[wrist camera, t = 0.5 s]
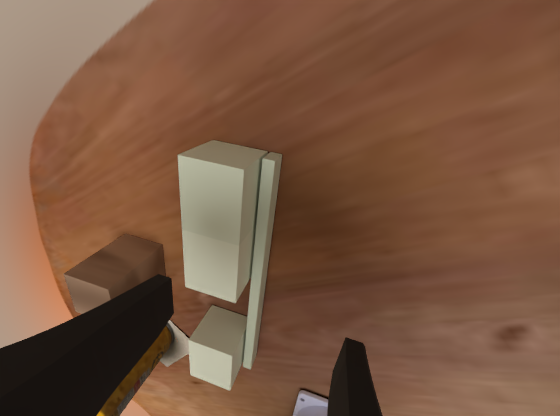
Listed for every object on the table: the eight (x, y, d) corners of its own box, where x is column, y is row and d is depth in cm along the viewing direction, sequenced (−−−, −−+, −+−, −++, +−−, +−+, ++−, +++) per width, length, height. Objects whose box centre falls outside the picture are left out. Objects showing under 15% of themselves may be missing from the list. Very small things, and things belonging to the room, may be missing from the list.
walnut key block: (166, 277, 26) (117, 327, 21) (131, 266, 27) (75, 311, 22) (162, 244, 25) (108, 289, 19) (125, 233, 25) (63, 273, 20)
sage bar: (256, 354, 28) (240, 394, 24) (211, 338, 29) (190, 374, 25) (282, 154, 18) (261, 173, 14) (212, 139, 19) (177, 154, 15)
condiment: (142, 294, 29) (16, 417, 18) (200, 346, 30) (111, 490, 20) (116, 318, 32) (-2, 433, 22) (169, 364, 33) (79, 494, 23)
